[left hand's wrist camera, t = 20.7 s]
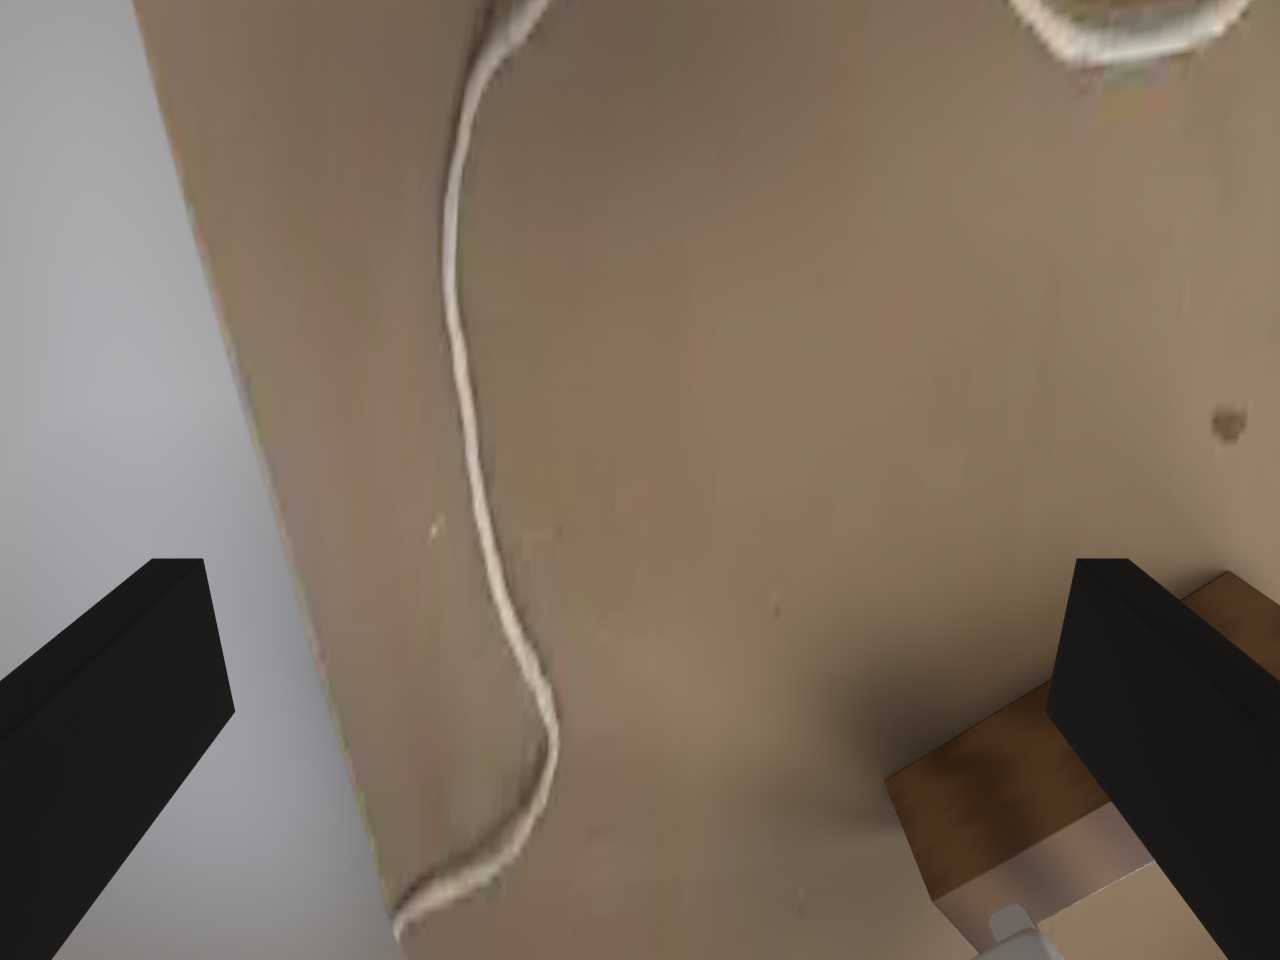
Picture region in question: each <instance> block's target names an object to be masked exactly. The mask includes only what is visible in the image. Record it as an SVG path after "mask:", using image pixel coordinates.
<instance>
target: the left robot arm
mask: <svg viewBox="0 0 1280 960" xmlns="http://www.w3.org/2000/svg"><path fill="white" fill-rule="evenodd" d="M234 713H235V709H234V704H233V699H232V695H231V690H230V685H229V680H228V675H227V671H226V666H225V661H224V656H223V651H222V647H221V642H220V637H219V632H218V627H217V623H216V618H215V613H214V608H213V603H212V599H211V594H210V589H209V584H208V579H207V575H206V570H205V565H204V560H203V559H151V560H150V561H148V562H147V563H146V564H145V565H144V566H142V567H141V568H140V569H139V570H137V571H136V572H135V573H134V574H132V575H131V576H130V577H129V578H127V579H126V580H125V581H124V582H122V583H121V584H120V585H119V586H117V587H116V588H115V589H114V590H113V591H111V592H110V593H109V594H108V595H106V596H105V597H104V598H103V599H101V600H100V601H99V602H98V603H96V604H95V605H94V606H93V607H91V608H90V609H89V610H88V611H87V612H85V613H84V614H83V615H82V616H80V617H79V618H78V619H77V620H75V621H74V622H73V623H72V624H70V625H69V626H68V627H67V628H65V629H64V630H63V631H62V632H60V633H59V634H58V635H57V636H56V637H54V638H53V639H52V640H51V641H49V642H48V643H47V644H46V645H44V646H43V647H42V648H41V649H39V650H38V651H37V652H36V653H34V654H33V655H32V656H31V657H29V658H28V659H27V660H26V661H24V662H23V663H22V664H21V665H20V666H18V667H17V668H16V669H15V670H13V671H12V672H11V673H10V674H8V675H7V676H6V677H5V678H3V679H2V680H1V681H0V960H52V958H53V957H54V956H55V954H56V953H57V952H58V950H59V949H60V948H61V946H62V945H63V943H64V942H65V941H66V939H67V938H68V937H69V935H70V934H71V933H72V931H73V930H74V929H75V927H76V926H77V925H78V923H79V922H80V920H81V919H82V918H83V916H84V915H85V914H86V912H87V911H88V910H89V908H90V907H91V906H92V904H93V903H94V902H95V900H96V899H97V898H98V896H99V895H100V893H101V892H102V891H103V889H104V888H105V887H106V885H107V884H108V883H109V881H110V880H111V879H112V877H113V876H114V875H115V873H116V872H117V871H118V869H119V868H120V866H121V865H122V864H123V862H124V861H125V860H126V858H127V857H128V856H129V854H130V853H131V852H132V850H133V849H134V848H135V846H136V845H137V844H138V842H139V841H140V839H141V838H142V837H143V835H144V834H145V833H146V831H147V830H148V829H149V827H150V826H151V825H152V823H153V822H154V821H155V819H156V818H157V817H158V815H159V814H160V812H161V811H162V810H163V808H164V807H165V806H166V804H167V803H168V802H169V800H170V799H171V798H172V796H173V795H174V793H175V792H176V791H177V789H178V788H179V787H180V785H181V784H182V783H183V781H184V780H185V779H186V777H187V776H188V775H189V773H190V772H191V771H192V769H193V768H194V767H195V765H196V764H197V762H198V761H199V760H200V758H201V757H202V756H203V754H204V753H205V752H206V750H207V749H208V748H209V746H210V745H211V744H212V742H213V741H214V740H215V738H216V737H217V735H218V734H219V733H220V731H221V730H222V729H223V727H224V726H225V725H226V723H227V722H228V721H229V719H230V718H231V717H232V715H233V714H234ZM1045 713H1046V714H1047V715H1048V717H1049V718H1050V719H1051V721H1052V722H1053V723H1054V725H1055V726H1056V727H1057V729H1058V730H1059V731H1060V733H1061V734H1062V736H1063V737H1064V738H1065V740H1066V741H1067V742H1068V744H1069V745H1070V746H1071V748H1072V749H1073V750H1074V752H1075V753H1076V754H1077V756H1078V757H1079V758H1080V760H1081V761H1082V763H1083V764H1084V765H1085V767H1086V768H1087V769H1088V771H1089V772H1090V773H1091V775H1092V776H1093V777H1094V779H1095V780H1096V781H1097V783H1098V784H1099V785H1100V787H1101V788H1102V790H1103V791H1104V792H1105V794H1106V795H1107V796H1108V798H1109V799H1110V800H1111V802H1112V803H1113V804H1114V806H1115V807H1116V808H1117V810H1118V811H1119V812H1120V814H1121V815H1122V817H1123V818H1124V819H1125V821H1126V822H1127V823H1128V825H1129V826H1130V827H1131V829H1132V830H1133V831H1134V833H1135V834H1136V835H1137V837H1138V838H1139V839H1140V841H1141V842H1142V844H1143V845H1144V846H1145V848H1146V849H1147V850H1148V852H1149V853H1150V854H1151V856H1152V857H1153V858H1154V860H1155V861H1156V862H1157V864H1158V865H1159V866H1160V868H1161V869H1162V871H1163V872H1164V873H1165V875H1166V876H1167V877H1168V879H1169V880H1170V881H1171V883H1172V884H1173V885H1174V887H1175V888H1176V889H1177V891H1178V892H1179V893H1180V895H1181V896H1182V898H1183V899H1184V900H1185V902H1186V903H1187V904H1188V906H1189V907H1190V908H1191V910H1192V911H1193V912H1194V914H1195V915H1196V916H1197V918H1198V919H1199V921H1200V922H1201V923H1202V925H1203V926H1204V927H1205V929H1206V930H1207V931H1208V933H1209V934H1210V935H1211V937H1212V938H1213V939H1214V941H1215V942H1216V943H1217V945H1218V946H1219V948H1220V949H1221V950H1222V952H1223V953H1224V954H1225V956H1226V957H1227V958H1228V960H1280V681H1279V680H1278V679H1277V678H1275V677H1274V676H1273V675H1272V674H1270V673H1269V672H1268V671H1267V670H1265V669H1264V668H1263V667H1262V666H1260V665H1259V664H1258V663H1257V662H1256V661H1254V660H1253V659H1252V658H1251V657H1249V656H1248V655H1247V654H1246V653H1244V652H1243V651H1242V650H1241V649H1239V648H1238V647H1237V646H1236V645H1234V644H1233V643H1232V642H1231V641H1229V640H1228V639H1227V638H1226V637H1225V636H1223V635H1222V634H1221V633H1220V632H1218V631H1217V630H1216V629H1215V628H1213V627H1212V626H1211V625H1210V624H1208V623H1207V622H1206V621H1205V620H1203V619H1202V618H1201V617H1200V616H1198V615H1197V614H1196V613H1195V612H1194V611H1192V610H1191V609H1190V608H1189V607H1187V606H1186V605H1185V604H1184V603H1182V602H1181V601H1180V600H1179V599H1177V598H1176V597H1175V596H1174V595H1172V594H1171V593H1170V592H1169V591H1167V590H1166V589H1165V588H1164V587H1163V586H1161V585H1160V584H1159V583H1158V582H1156V581H1155V580H1154V579H1153V578H1151V577H1150V576H1149V575H1148V574H1146V573H1145V572H1144V571H1143V570H1141V569H1140V568H1139V567H1138V566H1136V565H1135V564H1134V563H1133V562H1132V561H1130V560H1129V559H1077V560H1076V565H1075V570H1074V575H1073V579H1072V584H1071V589H1070V594H1069V599H1068V603H1067V608H1066V613H1065V618H1064V623H1063V627H1062V632H1061V637H1060V642H1059V646H1058V651H1057V656H1056V661H1055V666H1054V670H1053V675H1052V680H1051V685H1050V690H1049V694H1048V699H1047V704H1046V709H1045Z"/></svg>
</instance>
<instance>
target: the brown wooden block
mask: <svg viewBox="0 0 1280 960" xmlns="http://www.w3.org/2000/svg"><path fill="white" fill-rule="evenodd" d="M1181 602H1182V603H1184V604H1185V605H1186V606H1187V607H1189V608H1190V609H1191V610H1192V611H1194V612H1195V613H1196V614H1197V615H1198V616H1200V617H1201V618H1202V619H1203V620H1205V621H1206V622H1207V623H1208V624H1210V625H1211V626H1212V627H1213V628H1215V629H1216V630H1217V631H1218V632H1220V633H1221V634H1222V635H1223V636H1225V637H1226V638H1227V639H1228V640H1229V641H1231V642H1232V643H1233V644H1234V645H1236V646H1237V647H1238V648H1239V649H1241V650H1242V651H1243V652H1244V653H1246V654H1247V655H1248V656H1249V657H1251V658H1252V659H1253V660H1254V661H1256V662H1257V663H1258V664H1259V665H1260V666H1262V667H1263V668H1264V669H1265V670H1267V671H1268V672H1269V673H1270V674H1272V675H1273V676H1274V677H1275V678H1277V679H1278V680H1279V681H1280V605H1279V604H1277V603H1276V602H1274V601H1273V600H1271V599H1270V598H1268V597H1267V596H1266V595H1264V594H1263V593H1261V592H1260V591H1258V590H1257V589H1255V588H1254V587H1252V586H1251V585H1250V584H1248V583H1247V582H1245V581H1244V580H1242V579H1241V578H1239V577H1238V576H1236V575H1235V574H1234V573H1232V572H1231V571H1229V572H1227V573H1226V574H1224V575H1222V576H1221V577H1219V578H1218V579H1216V580H1214V581H1213V582H1211V583H1209V584H1208V585H1206V586H1204V587H1203V588H1201V589H1199V590H1198V591H1196V592H1194V593H1193V594H1191V595H1190V596H1188V597H1186V598H1185V599H1183V600H1181ZM1051 680H1052V679H1051ZM1051 680H1050V681H1048V682H1047V683H1045V684H1043V685H1042V686H1040V687H1038V688H1037V689H1035V690H1033V691H1032V692H1030V693H1028V694H1027V695H1025V696H1023V697H1022V698H1020V699H1019V700H1017V701H1015V702H1014V703H1012V704H1010V705H1009V706H1007V707H1005V708H1004V709H1002V710H1000V711H999V712H997V713H996V714H994V715H992V716H991V717H989V718H987V719H986V720H984V721H982V722H981V723H979V724H977V725H976V726H974V727H973V728H971V729H969V730H968V731H966V732H964V733H963V734H961V735H959V736H958V737H956V738H954V739H953V740H951V741H950V742H948V743H946V744H945V745H943V746H941V747H940V748H938V749H936V750H935V751H933V752H931V753H930V754H928V755H926V756H925V757H923V758H922V759H920V760H918V761H917V762H915V763H913V764H912V765H910V766H908V767H907V768H905V769H903V770H902V771H900V772H899V773H897V774H895V775H894V776H892V777H890V778H889V779H887V780H885V784H886V787H887V789H888V792H889V794H890V797H891V800H892V802H893V805H894V807H895V810H896V812H897V815H898V817H899V820H900V822H901V825H902V827H903V830H904V832H905V835H906V837H907V840H908V842H909V845H910V847H911V850H912V853H913V855H914V858H915V860H916V863H917V865H918V868H919V870H920V873H921V875H922V878H923V880H924V883H925V885H926V888H927V890H928V893H929V895H930V898H931V901H932V902H933V903H934V905H935V906H936V907H937V908H938V909H939V910H940V911H941V912H942V913H943V914H944V915H945V916H946V918H947V919H948V920H949V921H950V922H951V923H952V924H953V925H954V926H955V927H956V928H957V929H958V931H959V932H960V933H961V934H962V935H963V936H964V937H965V938H966V939H967V940H968V941H969V942H970V944H971V945H972V946H973V947H974V948H975V949H976V950H977V951H978V952H979V953H982V952H983V951H985V950H986V949H988V948H990V947H991V946H993V945H995V944H996V943H997V941H996V938H995V936H994V934H993V932H992V930H991V928H990V926H989V919H990V917H991V916H992V914H994V913H995V912H997V911H999V910H1001V909H1002V908H1004V907H1006V906H1008V905H1009V904H1011V903H1017V904H1019V905H1020V906H1022V907H1023V909H1024V910H1025V911H1026V912H1027V913H1028V915H1029V916H1030V917H1031V918H1032V919H1033V921H1034V922H1035V923H1036V924H1038V923H1040V922H1042V921H1044V920H1046V919H1048V918H1049V917H1051V916H1053V915H1055V914H1057V913H1059V912H1061V911H1062V910H1064V909H1066V908H1068V907H1070V906H1072V905H1074V904H1076V903H1077V902H1079V901H1081V900H1083V899H1085V898H1087V897H1089V896H1090V895H1092V894H1094V893H1096V892H1098V891H1100V890H1102V889H1104V888H1105V887H1107V886H1109V885H1111V884H1113V883H1115V882H1117V881H1119V880H1120V879H1122V878H1124V877H1126V876H1128V875H1130V874H1132V873H1133V872H1135V871H1137V870H1139V869H1141V868H1143V867H1145V866H1147V865H1148V864H1150V863H1152V862H1154V861H1155V860H1154V858H1153V857H1152V856H1151V854H1150V853H1149V852H1148V850H1147V849H1146V848H1145V846H1144V845H1143V844H1142V842H1141V841H1140V839H1139V838H1138V837H1137V835H1136V834H1135V833H1134V831H1133V830H1132V829H1131V827H1130V826H1129V825H1128V823H1127V822H1126V821H1125V819H1124V818H1123V817H1122V815H1121V814H1120V812H1119V811H1118V810H1117V808H1116V807H1115V806H1114V804H1113V803H1112V802H1111V800H1110V799H1109V798H1108V796H1107V795H1106V794H1105V792H1104V791H1103V790H1102V788H1101V787H1100V785H1099V784H1098V783H1097V781H1096V780H1095V779H1094V777H1093V776H1092V775H1091V773H1090V772H1089V771H1088V769H1087V768H1086V767H1085V765H1084V764H1083V763H1082V761H1081V760H1080V758H1079V757H1078V756H1077V754H1076V753H1075V752H1074V750H1073V749H1072V748H1071V746H1070V745H1069V744H1068V742H1067V741H1066V740H1065V738H1064V737H1063V736H1062V734H1061V733H1060V731H1059V730H1058V729H1057V727H1056V726H1055V725H1054V723H1053V722H1052V721H1051V719H1050V718H1049V717H1048V715H1047V714H1046V713H1045V709H1046V704H1047V699H1048V694H1049V690H1050V685H1051Z"/></svg>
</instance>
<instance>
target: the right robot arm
mask: <svg viewBox="0 0 1280 960" xmlns="http://www.w3.org/2000/svg"><path fill="white" fill-rule="evenodd" d="M989 926H990V928H991V930H992V932H993V934H994V936H995V938H996V941H997V943H996V944H995V945H993V946H991V947H990V948H988V949H986V950H985V951H983V952H982V953H980V954H978V955H977V956H975V957H974V958H973V959H972V960H1065V958H1064V957H1063V956H1062V955H1061V954H1060V953H1059V952H1058V950H1057V949H1056V948H1055V947H1054V946H1053V945H1052V943H1051V942H1050V941H1049V940H1048V939H1047V937H1046V936H1045V935H1044V934H1043V933H1041V932H1040V930H1039V928H1038V926H1037V924H1036V923H1035V922H1034V921H1033V919H1032V918H1031V917H1030V916H1029V915H1028V913H1027V912H1026V911H1025V910H1024V909H1023V907H1022V906H1020V905H1019V904H1017V903H1011V904H1009V905H1008V906H1006V907H1004V908H1002V909H1001V910H999V911H997V912H995V913H994V914H992V916H991V917H990V919H989Z"/></svg>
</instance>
